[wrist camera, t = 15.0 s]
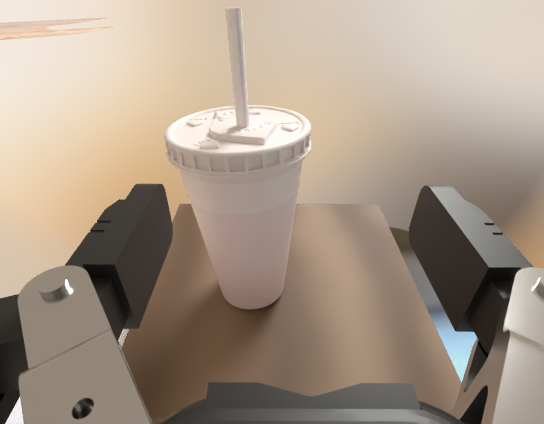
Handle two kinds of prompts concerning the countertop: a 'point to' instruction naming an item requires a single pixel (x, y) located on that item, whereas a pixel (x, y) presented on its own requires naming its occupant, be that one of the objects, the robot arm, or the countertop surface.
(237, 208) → the smoothie
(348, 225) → the plinth
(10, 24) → the countertop surface
